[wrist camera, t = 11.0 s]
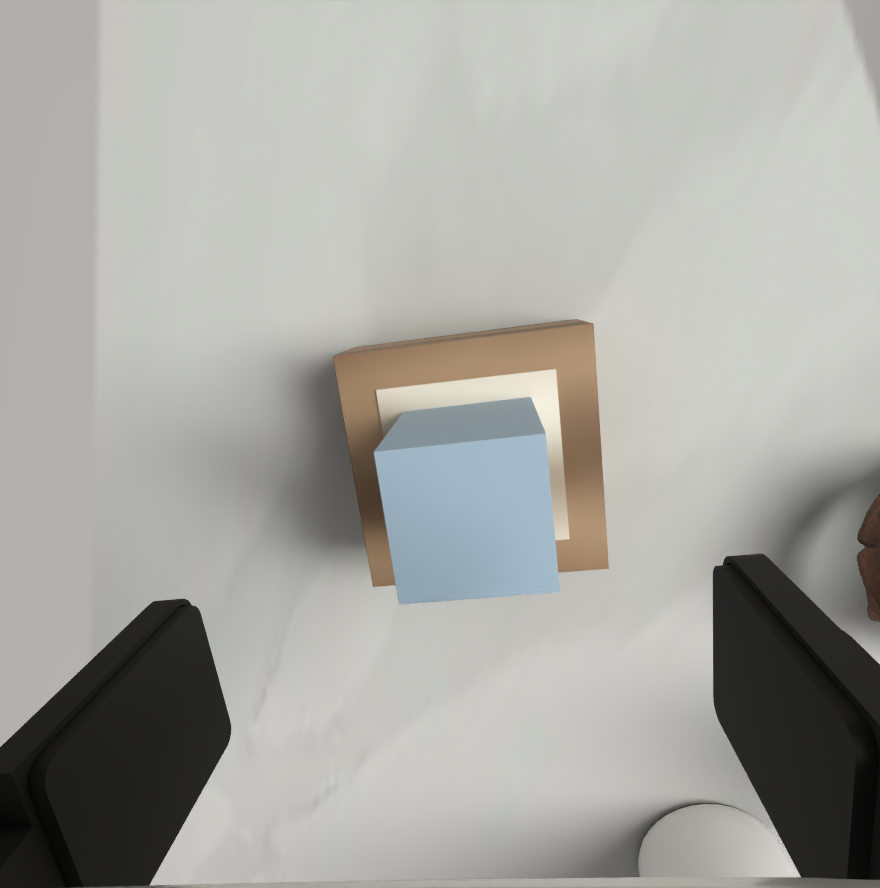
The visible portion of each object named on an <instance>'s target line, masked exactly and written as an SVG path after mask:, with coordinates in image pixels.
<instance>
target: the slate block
mask: <svg viewBox="0 0 880 888" xmlns="http://www.w3.org/2000/svg"><path fill="white" fill-rule="evenodd" d="M374 457H375V463H376V469H377V475H378V481H379V487H380V493H381V499H382V505H383V511H384V517H385V523H386V529H387V535H388V541H389V547H390V553H391V559H392V565H393V571H394V577H395V583H396V589H397V595H398V601H399V604H411V603H424V602H437V601H451V600H464V599H477V598H490V597H503V596H517V595H530V594H543V593H556V592H560V586H559V575H558V564H557V553H556V541H555V530H554V519H553V508H552V497H551V486H550V474H549V463H548V452H547V441H546V433H545V430H544V428H543V425H542V423H541V420H540V418H539V416H538V413H537V411H536V408H535V406H534V403H533V401H532V398H531V397H525V398H517V399H508V400H499V401H491V402H482V403H473V404H465V405H456V406H447V407H439V408H430V409H421V410H413V411H404V412H403V413H402V414H401V416H400V417H399V418H398V420H397V421H396V422H395V424H394V425H393V427H392V428H391V429H390V431H389V432H388V433H387V435H386V436H385V437H384V439H383V440H382V441H381V443H380V444H379V446H378V447H377V448H376V450H375V451H374Z"/></svg>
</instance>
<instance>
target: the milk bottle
mask: <svg viewBox="0 0 880 888" xmlns="http://www.w3.org/2000/svg"><path fill="white" fill-rule="evenodd" d="M638 868H639V874H640V877H798V876H797V874H796V872H795V871H794V869H793V867H792V865H791V863H790V861H789V859H788V857H787V856H786V854H785V852H784V850H783V849H782V847H781V845H780V843H779V842H778V840H777V839H776V837H775V836H774V834H773V833H772V832H771V831H770V830H769V829H768V828H767V827H766V826H765V825H764V824H762V823H761V822H760V821H759V820H758V819H756V818H755V817H753V816H751V815H749V814H748V813H746V812H745V811H742V810H739V809H736V808H734V807H729V806H724V805H719V804H701V805H692V806H688V807H685V808H681V809H678V810H676V811H674V812H672V813H669V814H667V815H666V816H664V817H663V818H662V819H660V820H659V821H657V822H656V823H655V824H654V825H653V826H652V827H651V828H650V829H649V831H648V832H647V834H646V836H645V837H644V839H643V842H642V845H641V848H640V852H639V859H638Z"/></svg>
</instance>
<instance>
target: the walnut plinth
mask: <svg viewBox="0 0 880 888" xmlns="http://www.w3.org/2000/svg"><path fill="white" fill-rule="evenodd" d="M333 359H334V365H335V371H336V377H337V382H338V388H339V394H340V400H341V405H342V411H343V417H344V423H345V428H346V434H347V440H348V446H349V451H350V457H351V463H352V469H353V474H354V480H355V486H356V492H357V497H358V503H359V509H360V515H361V520H362V526H363V532H364V538H365V543H366V549H367V555H368V561H369V566H370V572H371V578H372V584H373V587H376V586H389V585H396V583H395V577H394V571H393V565H392V559H391V553H390V547H389V541H388V535H387V529H386V523H385V517H384V511H383V505H382V499H381V493H380V487H379V481H378V475H377V469H376V463H375V457H374V451H375V450H376V448H377V447H378V446H379V444H380V443H381V441H382V440H383V439H384V437H385V436H386V435H387V433H388V432H389V431H390V429H391V428H392V427H393V425H394V424H395V422H396V421H397V420H398V418H399V417H400V416H401V414H402V413H403V412H404V411H413V410H421V409H430V408H439V407H447V406H456V405H465V404H473V403H482V402H491V401H499V400H508V399H517V398H525V397H531V398H532V401H533V403H534V406H535V408H536V411H537V413H538V416H539V418H540V420H541V423H542V425H543V428H544V430H545V433H546V441H547V452H548V463H549V474H550V486H551V497H552V508H553V519H554V530H555V541H556V553H557V564H558V572H571V571H584V570H597V569H609V566H608V550H607V534H606V518H605V502H604V486H603V470H602V454H601V438H600V422H599V405H598V389H597V373H596V357H595V341H594V325H593V323H589V322H585V321H582V320H578V319H576V320H568V321H560V322H552V323H544V324H536V325H528V326H520V327H512V328H504V329H497V330H489V331H481V332H473V333H465V334H457V335H449V336H441V337H433V338H425V339H417V340H409V341H402V342H394V343H386V344H378V345H370V346H362V347H355V348H353V349H350V350H348V351H345V352H343V353H340V354H338V355H335V356H333Z"/></svg>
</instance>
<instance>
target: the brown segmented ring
mask: <svg viewBox="0 0 880 888" xmlns="http://www.w3.org/2000/svg"><path fill="white" fill-rule="evenodd" d="M858 541H859V542H860V543H861V544H863V545H864V546H866V547H865V548H864V549H863V550H862V551H861V552H859V553H858V555H857V561H858V566H859V571H860V574H861V576H862V579H863V583H864V586H865V588H866V593H867V599H868V608H867V609H868V615H869V618H870V619H871V620H874V621H879V622H880V494H879V495H878V497H877V498H876V499H875V501H874V502H873V504H872V505H871V507H870V509H869V510H868V512H867V514H866V516H865V518H864V521H863V523H862V526H861V528H860V530H859V532H858Z"/></svg>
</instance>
